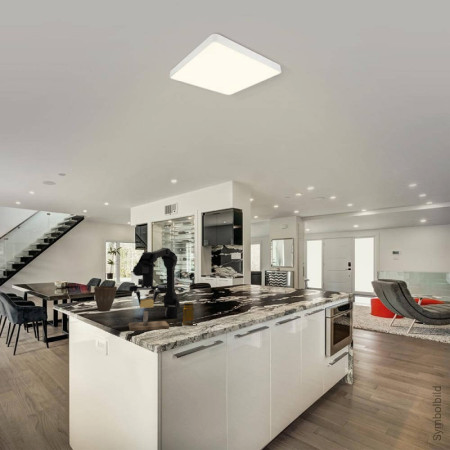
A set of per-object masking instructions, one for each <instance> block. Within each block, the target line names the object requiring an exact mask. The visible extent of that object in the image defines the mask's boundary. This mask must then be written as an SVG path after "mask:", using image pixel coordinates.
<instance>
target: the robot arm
mask: <svg viewBox="0 0 450 450" xmlns="http://www.w3.org/2000/svg"><path fill="white" fill-rule="evenodd" d="M159 258H161V260H162V262H163V266H164V268H165V270H166V271H165V272H166V286H165V285H164V284H156V286H155V285H154V271H155V270H154V269H155V268H154V267H156V264H155V262H157V261H158V259H159ZM177 264H178V256H177V255H176V253H175V252H173V250H171V248H168V247H162V248H160V249H157V250H153V251H144V252H142V254H141V256H140V258H139V260H138V262H136V265H135V266H133V269H132V273H133V275H134V276H135V277H141V276H142V277H141V278H138V280H137V281H138V282H137V284H130V285H129V286H128V291H129V292H133V293H134V294H136V297H137V300H138V304H139V305H140V299H141V292H140V291H145V290H147V291H148V290H153V295H152V299H153V300H154V302H155V301H156V299H157V296H158V295H159V293H161V292H165V291H166V292H165V294H163V305H164V306H163V307H164V308H166V309H165V314H164V315H165V317H166V319H178V309H179V308H180V306H181V303H180V301H179V299H178V295H177V293H176V291H175V285H176V284H175V268H176V266H177ZM139 305H138V306H139Z"/></svg>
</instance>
